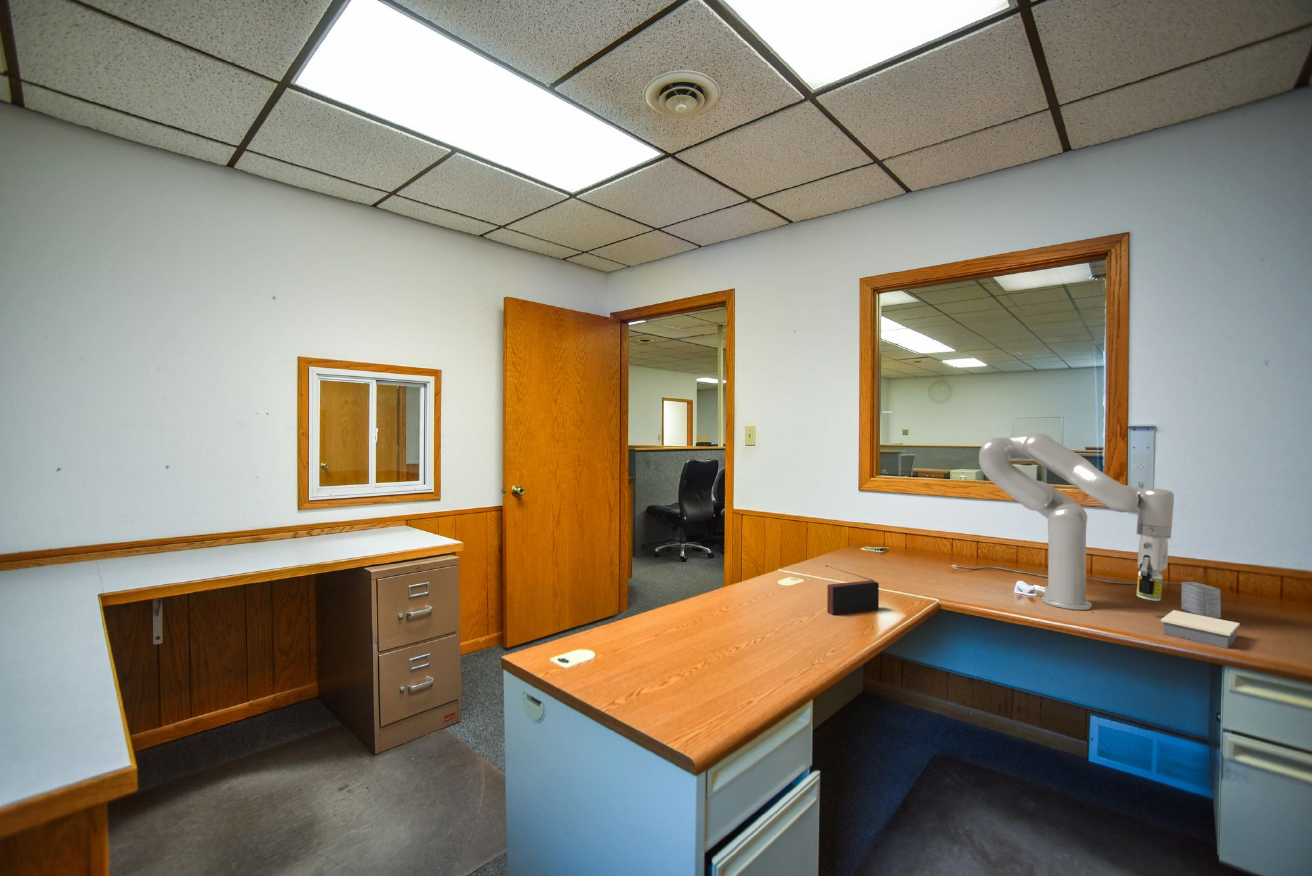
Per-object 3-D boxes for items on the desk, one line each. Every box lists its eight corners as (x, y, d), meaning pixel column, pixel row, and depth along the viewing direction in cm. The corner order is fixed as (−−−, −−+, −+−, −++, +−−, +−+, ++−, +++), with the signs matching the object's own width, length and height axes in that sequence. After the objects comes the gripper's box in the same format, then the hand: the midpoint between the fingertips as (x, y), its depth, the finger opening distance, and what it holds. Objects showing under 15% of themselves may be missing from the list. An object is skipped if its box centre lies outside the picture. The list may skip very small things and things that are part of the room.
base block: (1160, 633, 148) (1161, 619, 148) (1173, 624, 156) (1173, 610, 156) (1229, 649, 138) (1230, 633, 138) (1239, 638, 145) (1239, 623, 145)
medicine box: (1221, 618, 160) (1221, 589, 160) (1205, 618, 161) (1206, 589, 160) (1195, 609, 168) (1195, 581, 168) (1180, 609, 168) (1180, 581, 168)
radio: (871, 606, 171) (872, 559, 171) (878, 609, 168) (878, 561, 168) (820, 612, 165) (821, 563, 165) (826, 616, 162) (827, 565, 162)
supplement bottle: (1155, 602, 157) (1158, 568, 157) (1132, 596, 162) (1135, 564, 162) (1164, 599, 160) (1167, 567, 159) (1141, 594, 165) (1143, 562, 164)
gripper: (1162, 536, 152) (1157, 600, 153) (1178, 530, 162) (1173, 590, 163) (1128, 531, 158) (1123, 592, 159) (1145, 525, 168) (1140, 583, 169)
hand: (1149, 591), depth 161 cm, fingers closed on supplement bottle, 5 cm apart
